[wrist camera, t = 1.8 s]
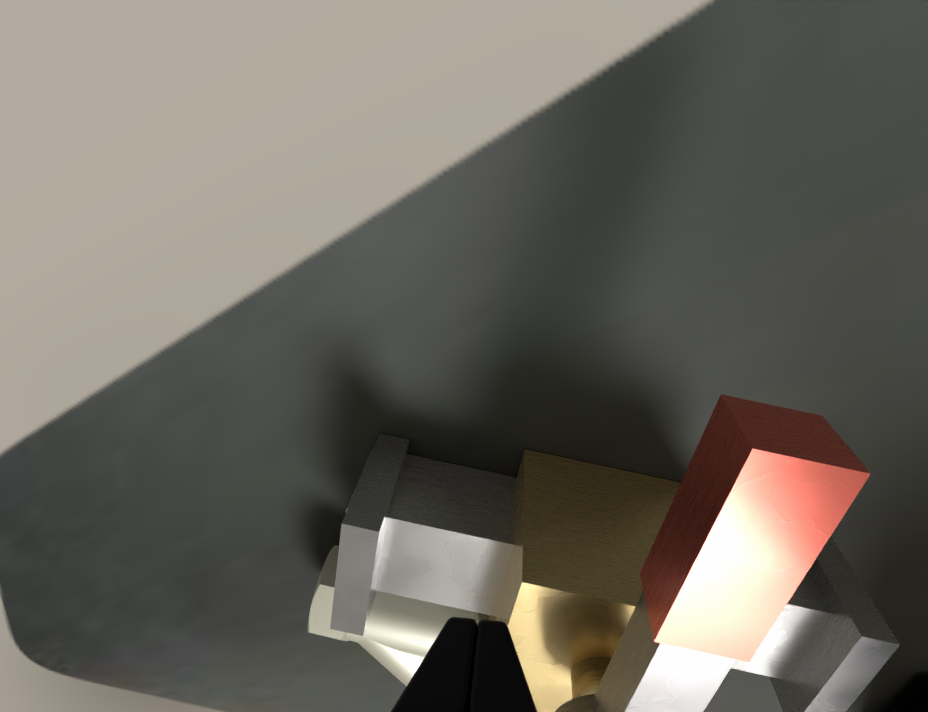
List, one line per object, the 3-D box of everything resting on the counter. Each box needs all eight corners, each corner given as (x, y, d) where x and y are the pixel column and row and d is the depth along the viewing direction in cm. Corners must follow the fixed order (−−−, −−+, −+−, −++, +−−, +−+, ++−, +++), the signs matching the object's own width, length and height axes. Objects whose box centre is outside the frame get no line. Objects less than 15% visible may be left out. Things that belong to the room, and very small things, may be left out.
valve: (839, 516, 22) (989, 734, 15) (768, 627, 25) (865, 853, 17) (376, 417, 22) (301, 583, 15) (360, 538, 25) (291, 726, 18)
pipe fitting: (486, 654, 28) (518, 567, 25) (478, 739, 25) (514, 653, 22) (329, 618, 28) (339, 526, 25) (300, 698, 25) (307, 605, 22)
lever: (644, 772, 17) (655, 846, 15) (537, 749, 17) (538, 820, 15) (852, 422, 11) (906, 480, 10) (691, 388, 11) (717, 441, 10)
